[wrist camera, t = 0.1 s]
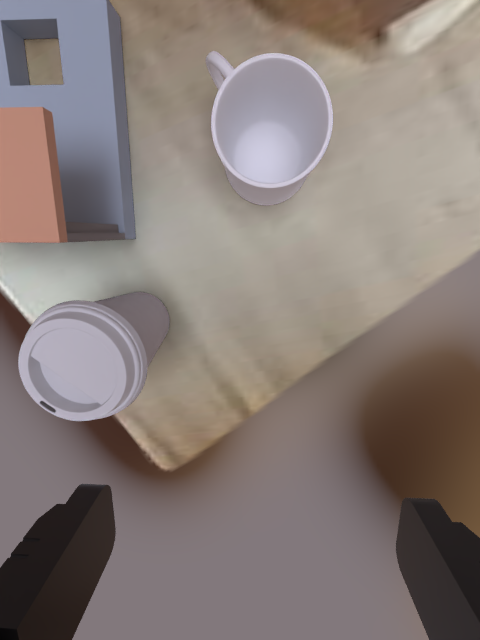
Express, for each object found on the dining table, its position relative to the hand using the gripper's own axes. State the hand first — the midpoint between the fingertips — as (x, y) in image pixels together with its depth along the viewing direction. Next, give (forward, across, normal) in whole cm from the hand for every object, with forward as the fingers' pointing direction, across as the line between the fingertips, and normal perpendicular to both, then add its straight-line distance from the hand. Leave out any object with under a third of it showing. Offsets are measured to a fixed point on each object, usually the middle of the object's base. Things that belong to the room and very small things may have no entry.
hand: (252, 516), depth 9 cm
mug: (+30, 0, -16) cm, 34 cm away
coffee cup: (+29, +13, +2) cm, 32 cm away
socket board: (+29, +20, -17) cm, 39 cm away
